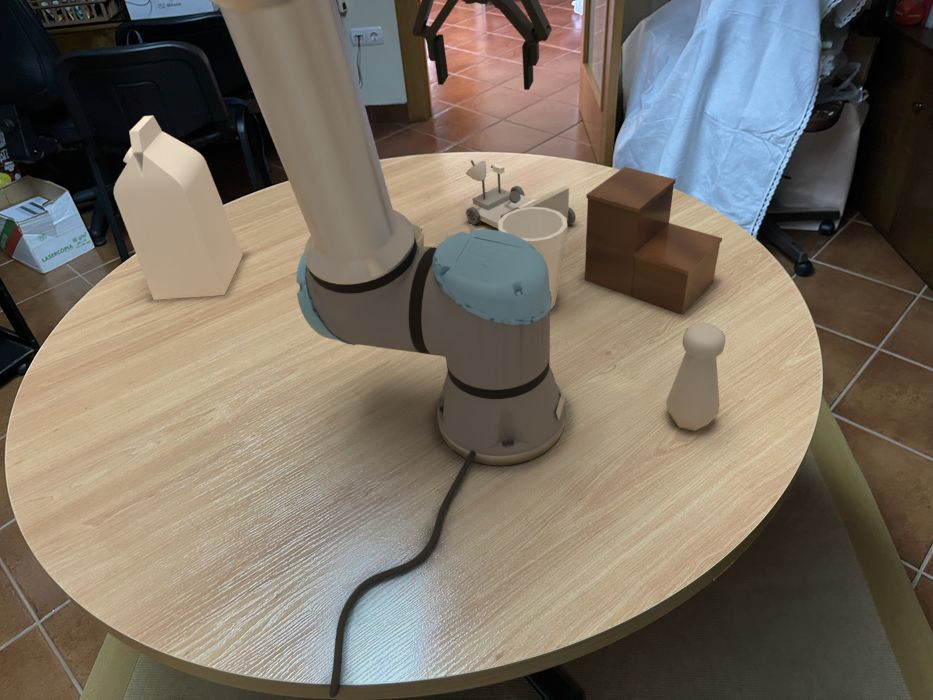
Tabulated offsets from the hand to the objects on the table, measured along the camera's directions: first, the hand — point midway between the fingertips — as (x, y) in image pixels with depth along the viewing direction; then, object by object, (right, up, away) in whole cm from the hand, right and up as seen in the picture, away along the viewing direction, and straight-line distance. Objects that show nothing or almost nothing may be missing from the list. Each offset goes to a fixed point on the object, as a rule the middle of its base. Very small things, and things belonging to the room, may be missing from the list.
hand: (485, 83), depth 105 cm
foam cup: (+7, -34, -3) cm, 34 cm away
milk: (-47, -29, +10) cm, 56 cm away
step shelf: (+24, -30, -1) cm, 39 cm away
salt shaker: (+23, -49, -23) cm, 59 cm away
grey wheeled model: (+6, -18, +16) cm, 25 cm away
